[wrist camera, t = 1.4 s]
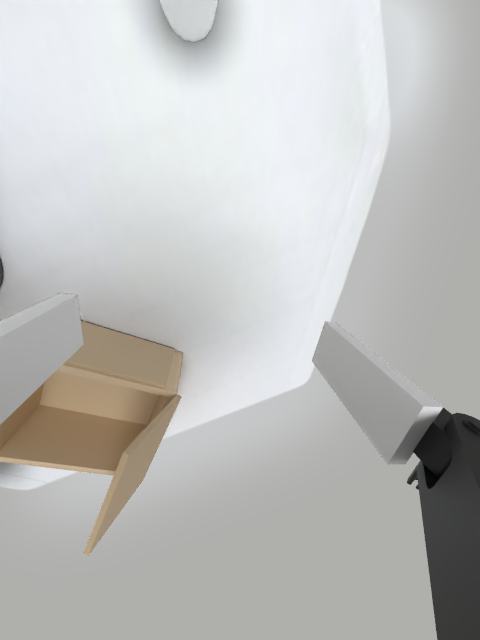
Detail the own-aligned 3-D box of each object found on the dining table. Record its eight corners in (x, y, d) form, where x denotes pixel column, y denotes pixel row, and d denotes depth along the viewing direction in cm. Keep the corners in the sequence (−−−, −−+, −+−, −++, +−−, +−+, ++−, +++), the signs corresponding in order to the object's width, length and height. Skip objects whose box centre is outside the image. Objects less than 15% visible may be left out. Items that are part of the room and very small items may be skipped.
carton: (31, 405, 46) (-21, 461, 36) (48, 309, 39) (-11, 343, 28) (150, 427, 54) (137, 480, 43) (184, 350, 47) (178, 390, 36)
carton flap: (83, 552, 32) (88, 556, 32) (123, 451, 25) (129, 455, 25) (139, 478, 43) (142, 480, 43) (177, 394, 36) (181, 396, 36)
